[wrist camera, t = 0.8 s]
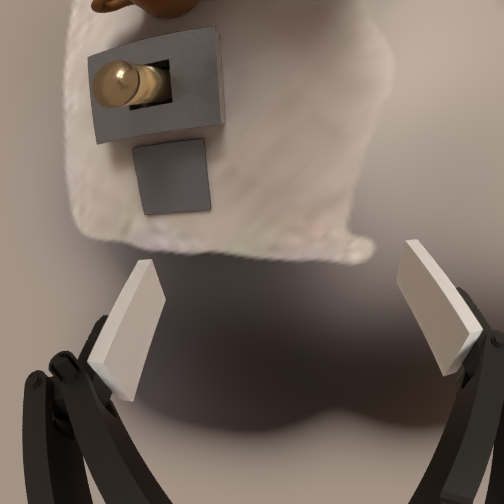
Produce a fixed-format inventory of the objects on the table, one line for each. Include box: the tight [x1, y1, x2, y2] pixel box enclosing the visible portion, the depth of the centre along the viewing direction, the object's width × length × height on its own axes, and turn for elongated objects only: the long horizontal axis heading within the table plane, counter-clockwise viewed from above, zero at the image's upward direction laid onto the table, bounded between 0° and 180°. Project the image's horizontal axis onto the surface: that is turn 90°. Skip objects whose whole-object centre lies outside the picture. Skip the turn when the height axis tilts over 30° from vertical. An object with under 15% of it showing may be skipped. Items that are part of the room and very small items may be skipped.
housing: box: [88, 27, 226, 145], centre depth 29 cm, size 12×16×5 cm
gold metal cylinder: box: [92, 60, 172, 108], centre depth 25 cm, size 4×4×14 cm
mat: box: [132, 138, 211, 215], centre depth 37 cm, size 10×10×1 cm
